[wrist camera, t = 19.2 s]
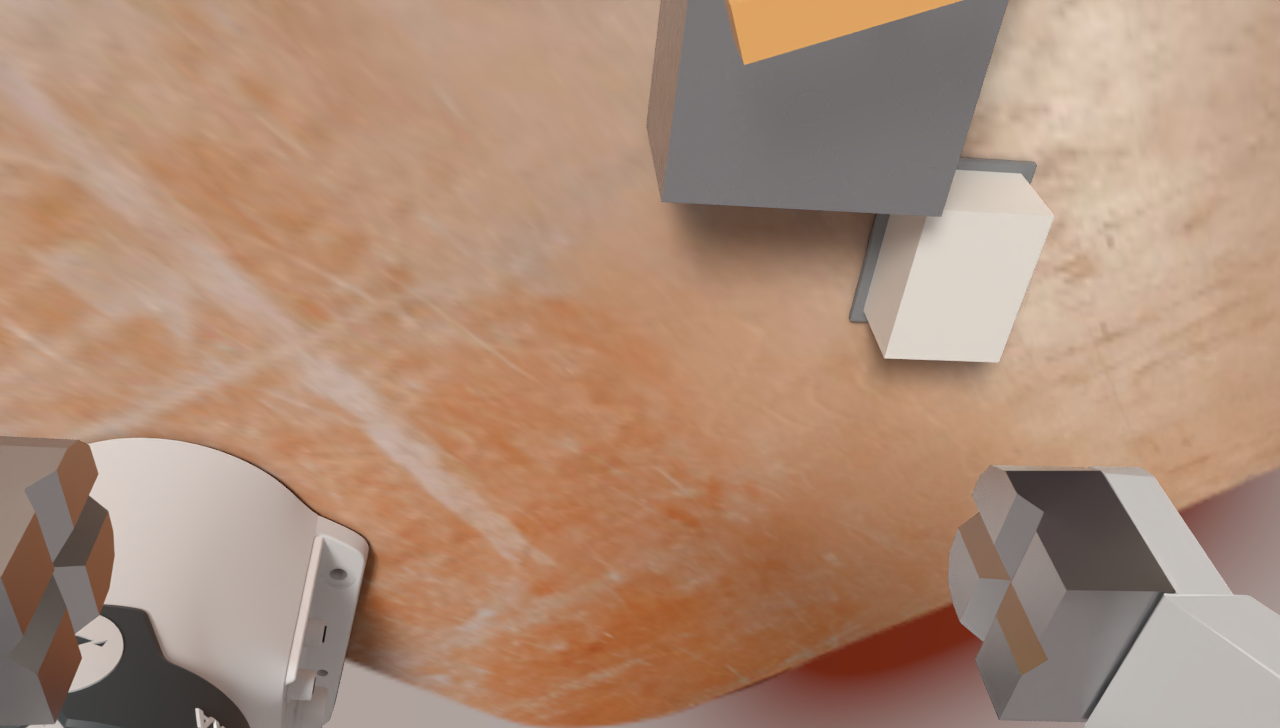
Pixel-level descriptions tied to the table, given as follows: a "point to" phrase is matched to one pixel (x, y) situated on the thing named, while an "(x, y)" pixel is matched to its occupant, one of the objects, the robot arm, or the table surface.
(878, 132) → the box
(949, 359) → the cream white box
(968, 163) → the mat
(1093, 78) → the table surface
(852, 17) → the t key
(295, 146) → the table surface
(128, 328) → the table surface
